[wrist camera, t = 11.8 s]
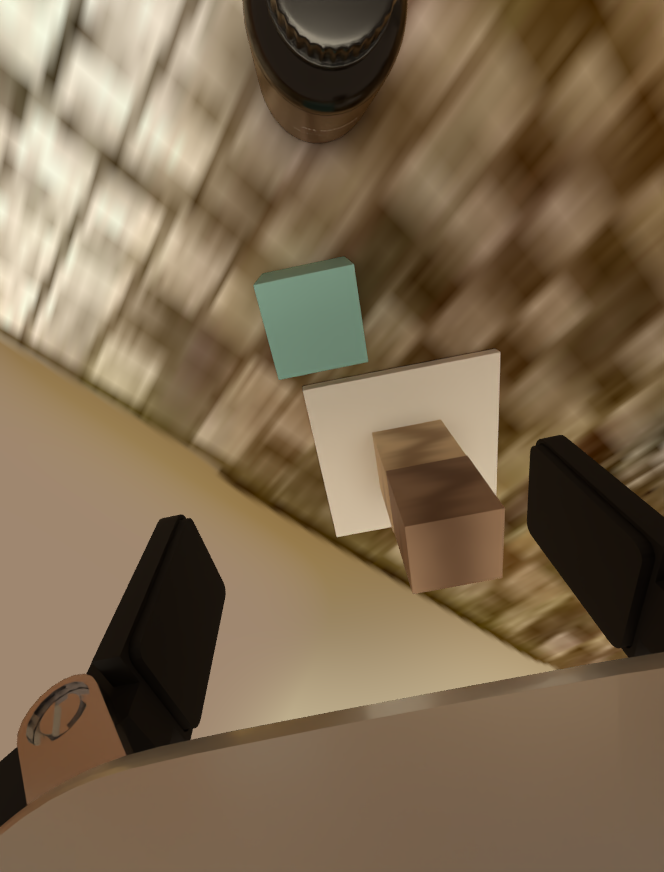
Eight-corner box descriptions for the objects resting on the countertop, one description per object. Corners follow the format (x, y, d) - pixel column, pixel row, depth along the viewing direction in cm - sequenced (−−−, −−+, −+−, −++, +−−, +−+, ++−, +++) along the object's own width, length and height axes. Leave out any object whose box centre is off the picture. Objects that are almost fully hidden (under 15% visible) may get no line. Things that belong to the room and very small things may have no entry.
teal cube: (344, 256, 28) (353, 264, 23) (356, 338, 31) (368, 361, 26) (262, 273, 28) (253, 285, 23) (282, 353, 31) (278, 379, 26)
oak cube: (440, 419, 34) (466, 455, 29) (443, 476, 37) (467, 518, 31) (371, 432, 34) (384, 471, 29) (380, 488, 37) (393, 532, 32)
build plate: (495, 348, 32) (500, 352, 31) (491, 501, 40) (495, 507, 39) (302, 386, 33) (302, 390, 32) (336, 530, 40) (336, 537, 39)
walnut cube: (467, 455, 29) (505, 508, 23) (468, 518, 31) (502, 577, 26) (385, 471, 29) (404, 526, 23) (394, 532, 32) (412, 594, 26)
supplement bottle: (316, 172, 26) (327, 138, 15) (234, 70, 23) (177, -57, 12) (397, 78, 24) (475, -35, 13) (318, -45, 21) (335, -310, 11)
